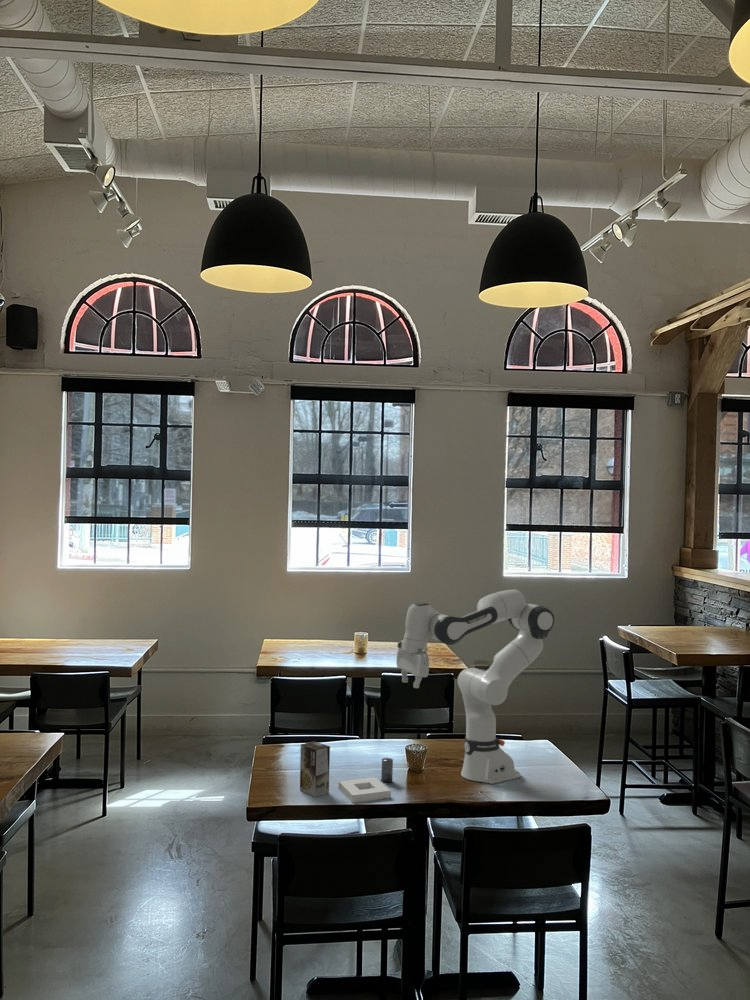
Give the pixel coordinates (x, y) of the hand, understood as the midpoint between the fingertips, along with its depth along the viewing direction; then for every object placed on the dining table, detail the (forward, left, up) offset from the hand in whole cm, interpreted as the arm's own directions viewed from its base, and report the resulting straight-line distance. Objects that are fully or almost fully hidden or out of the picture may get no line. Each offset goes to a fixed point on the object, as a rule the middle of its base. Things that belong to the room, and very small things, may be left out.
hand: (410, 685), depth 272 cm
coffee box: (+35, -3, -36) cm, 50 cm away
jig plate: (+19, +4, -35) cm, 40 cm away
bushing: (+7, -4, -35) cm, 36 cm away
